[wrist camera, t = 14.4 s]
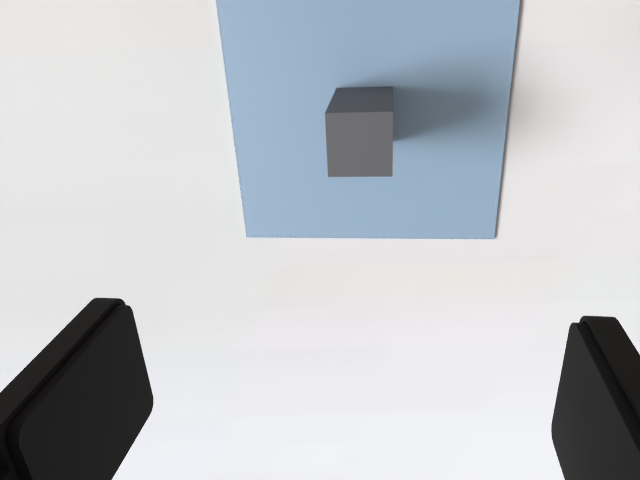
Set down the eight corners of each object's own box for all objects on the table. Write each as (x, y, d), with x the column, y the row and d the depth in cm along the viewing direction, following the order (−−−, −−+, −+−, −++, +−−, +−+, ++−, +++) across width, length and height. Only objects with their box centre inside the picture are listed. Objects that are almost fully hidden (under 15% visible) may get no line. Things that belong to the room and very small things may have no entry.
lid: (521, -51, 25) (558, -55, 20) (491, 233, 32) (512, 289, 26) (216, -32, 27) (171, -31, 21) (249, 231, 34) (221, 283, 28)
